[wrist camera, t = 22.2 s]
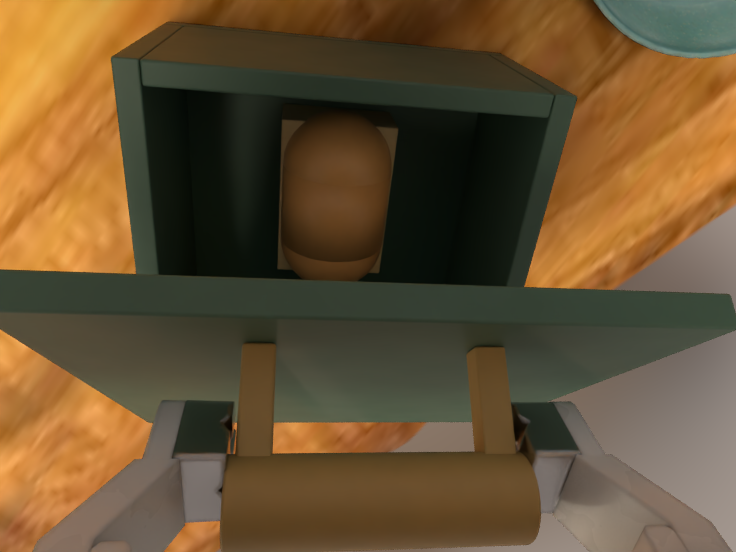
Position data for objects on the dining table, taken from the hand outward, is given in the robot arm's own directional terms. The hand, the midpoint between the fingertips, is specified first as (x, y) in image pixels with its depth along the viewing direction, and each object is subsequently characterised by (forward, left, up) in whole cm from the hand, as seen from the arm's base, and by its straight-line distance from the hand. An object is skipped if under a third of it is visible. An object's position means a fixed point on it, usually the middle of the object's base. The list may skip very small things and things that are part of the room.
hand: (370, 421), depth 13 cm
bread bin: (+1, 0, -17) cm, 17 cm away
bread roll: (+1, 0, -17) cm, 17 cm away
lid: (+2, 0, -4) cm, 5 cm away
